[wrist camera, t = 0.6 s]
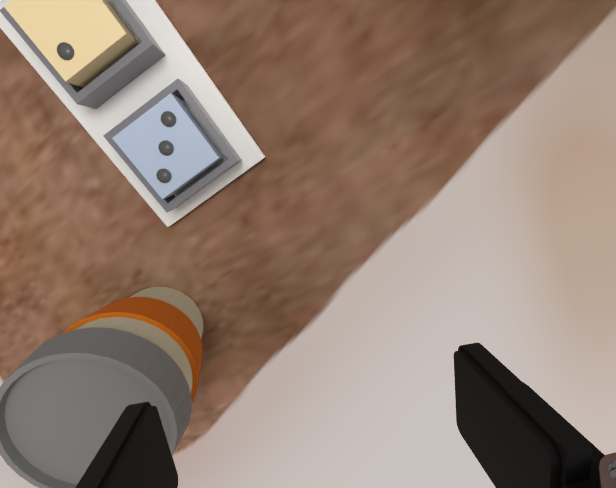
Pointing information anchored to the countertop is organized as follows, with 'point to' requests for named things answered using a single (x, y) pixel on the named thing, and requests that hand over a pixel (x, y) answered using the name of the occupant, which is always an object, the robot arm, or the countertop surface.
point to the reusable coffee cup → (100, 384)
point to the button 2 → (75, 35)
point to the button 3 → (168, 146)
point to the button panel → (149, 102)
